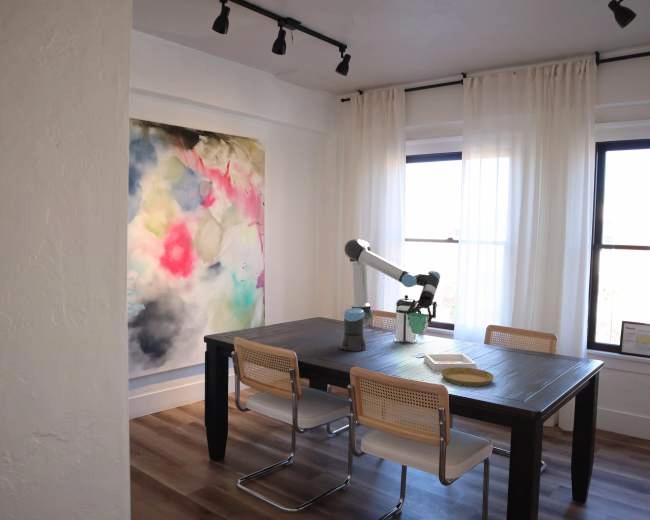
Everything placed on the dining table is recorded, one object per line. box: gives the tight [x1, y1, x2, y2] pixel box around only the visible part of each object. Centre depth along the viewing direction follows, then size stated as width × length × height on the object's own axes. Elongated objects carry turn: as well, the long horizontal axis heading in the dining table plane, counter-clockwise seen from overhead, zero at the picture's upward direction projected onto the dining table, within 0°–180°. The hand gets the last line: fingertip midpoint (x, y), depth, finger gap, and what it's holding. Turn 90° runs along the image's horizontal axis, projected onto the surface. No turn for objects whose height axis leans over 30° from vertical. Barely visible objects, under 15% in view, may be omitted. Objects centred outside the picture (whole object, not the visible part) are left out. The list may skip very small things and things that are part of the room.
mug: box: [409, 312, 429, 335], centre depth 290 cm, size 15×10×10 cm
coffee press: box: [393, 294, 422, 345], centre depth 333 cm, size 17×16×30 cm
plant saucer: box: [440, 367, 495, 387], centre depth 249 cm, size 24×24×3 cm
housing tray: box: [423, 353, 477, 372], centre depth 275 cm, size 21×21×4 cm
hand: (417, 326), depth 287 cm, fingers closed on mug, 9 cm apart
